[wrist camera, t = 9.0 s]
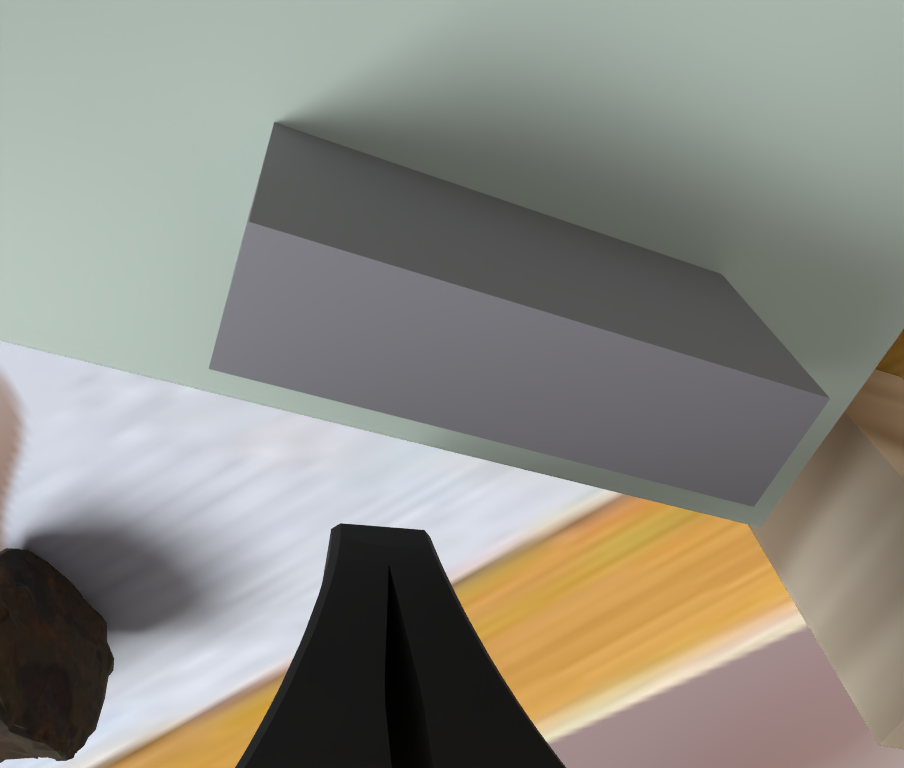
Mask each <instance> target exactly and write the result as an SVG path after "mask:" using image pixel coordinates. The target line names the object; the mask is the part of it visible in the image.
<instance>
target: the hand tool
mask: <svg viewBox="0 0 904 768" xmlns="http://www.w3.org/2000/svg"><path fill="white" fill-rule="evenodd" d="M113 667H114V657H113V655H112V652H111V650H110V648H109V645H108V643H107V627H106V621H105V620H104V619H103V618H102V616H101V615H100V614H99V613H98V612H96V611H95V610H94V609H93V608H92V607H91V606H90V605H89V604H88V603H87V602H86V601H85V600H84V599H83V597H82V595H81V594H80V593H79V591H78V590H77V589H76V588H75V586H74V585H73V584H72V583H71V582H70V581H69V580H68V579H66V578H65V577H64V576H63V575H62V574H60V573H59V572H58V571H57V570H56V569H55V568H53V567H52V566H51V565H50V564H49V563H47V562H45V561H43V560H41V559H40V558H38V557H37V556H35V555H34V554H32V553H31V552H29V551H26V550H21V549H8V548H6V549H4V550H3V551H1V552H0V763H1V762H3V761H4V760H6V759H21V758H36V759H38V757H40V758H43V757H48V758H52V759H56V761H67V760H69V759H72V758H74V755H75V753H77V751H78V750H80V749H81V748H82V747H83V746H84V745H85V743H86V741H87V739H88V737H89V736H90V735H91V734H92V733H93V732H94V731H95V730H96V727H97V723H98V720H99V716H100V713H101V709H102V706H103V703H104V699H105V694H106V688H107V682H108V677H109V675H110V674H111V673H112V671H113Z"/></svg>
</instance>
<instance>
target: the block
mask: <svg viewBox="0 0 904 768" xmlns="http://www.w3.org/2000/svg"><path fill="white" fill-rule="evenodd" d="M748 525H749V524H748ZM749 527H750V529H751V531H752V532H753V534H754V536H755V537H756V539H757V541H758V542H759V544H760V546H761V547H762V549H763V551H764V552H765V554H766V556H767V558H768V559H769V561H770V563H771V564H772V566H773V568H774V569H775V571H776V573H777V574H778V576H779V578H780V579H781V581H782V583H783V585H784V586H785V588H786V590H787V591H788V593H789V595H790V596H791V598H792V600H793V601H794V603H795V605H796V607H797V608H798V610H799V612H800V613H801V615H802V617H803V618H804V620H805V622H806V623H807V625H808V627H809V628H810V630H811V632H812V634H813V635H814V637H815V639H816V640H817V642H818V644H819V645H820V647H821V649H822V650H823V652H824V654H825V655H826V657H827V659H828V660H829V662H830V664H831V666H832V667H833V669H834V671H835V672H836V674H837V676H838V677H839V679H840V681H841V682H842V684H843V686H844V688H845V689H846V691H847V692H848V694H849V696H850V698H851V699H852V701H853V703H854V704H855V706H856V708H857V709H858V711H859V713H860V715H861V716H862V718H863V720H864V721H865V723H866V725H867V726H868V728H869V730H870V731H871V733H872V735H873V736H874V738H875V740H876V741H877V743H878V745H880V746H886V747H891V748H898V749H904V380H903V379H902V378H901V377H899V376H896V375H893V374H890V373H886V372H883V371H880V370H877V369H875V370H874V371H873V372H872V374H871V375H870V376H869V378H868V379H867V381H866V382H865V383H864V385H863V386H862V388H861V389H860V390H859V392H858V393H857V395H856V396H855V397H854V399H853V400H852V401H851V403H850V404H849V406H848V407H847V408H846V410H845V411H844V413H843V414H842V415H841V417H840V418H839V419H838V421H837V422H836V424H835V425H834V426H833V428H832V429H831V431H830V432H829V433H828V435H827V436H826V437H825V439H824V440H823V442H822V443H821V444H820V446H819V447H818V449H817V450H816V451H815V453H814V454H813V455H812V457H811V458H810V460H809V461H808V462H807V464H806V465H805V467H804V468H803V469H802V471H801V472H800V473H799V475H798V476H797V478H796V479H795V480H794V482H793V483H792V485H791V486H790V487H789V489H788V490H787V491H786V493H785V494H784V496H783V497H782V498H781V500H780V501H779V503H778V504H777V505H776V507H775V508H774V509H773V511H772V512H771V514H770V515H769V516H768V518H767V519H766V521H765V522H764V523H763V525H762V526H761V527H757V526H753V525H749Z"/></svg>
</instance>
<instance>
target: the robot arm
mask: <svg viewBox="0 0 904 768" xmlns="http://www.w3.org/2000/svg"><path fill="white" fill-rule="evenodd" d="M235 768H566V767H565V765H563V763H562V762H561V761H560V759H559V758H558V757H557V755H556V754H555V753H554V751H553V750H552V749H551V747H550V746H549V745H548V743H547V742H546V741H545V739H544V738H543V737H542V735H541V734H540V733H539V731H538V730H537V728H536V727H535V726H534V724H533V723H532V721H531V720H530V718H529V717H528V716H527V714H526V713H525V711H524V710H523V708H522V707H521V705H520V704H519V702H518V701H517V699H516V698H515V696H514V695H513V693H512V692H511V690H510V688H509V687H508V685H507V684H506V682H505V681H504V679H503V677H502V676H501V674H500V673H499V671H498V669H497V668H496V666H495V664H494V663H493V661H492V659H491V658H490V656H489V654H488V653H487V651H486V649H485V647H484V646H483V644H482V642H481V640H480V639H479V637H478V635H477V633H476V631H475V630H474V628H473V626H472V624H471V622H470V621H469V619H468V617H467V615H466V613H465V611H464V609H463V607H462V606H461V604H460V602H459V600H458V598H457V596H456V594H455V592H454V590H453V588H452V586H451V583H450V581H449V579H448V577H447V575H446V573H445V571H444V569H443V566H442V564H441V562H440V560H439V557H438V555H437V553H436V550H435V548H434V546H433V543H432V541H431V538H430V536H429V535H428V534H427V533H426V532H425V530H416V529H404V528H391V527H378V526H366V525H353V524H341V523H340V524H339V525H337V526H335V527H334V528H332V529H331V534H330V540H329V546H328V552H327V558H326V564H325V570H324V577H323V582H322V586H321V589H320V592H319V596H318V598H317V601H316V604H315V606H314V609H313V612H312V614H311V617H310V620H309V622H308V625H307V628H306V631H305V633H304V636H303V638H302V640H301V643H300V645H299V647H298V649H297V651H296V654H295V656H294V658H293V660H292V662H291V664H290V667H289V669H288V671H287V673H286V675H285V677H284V680H283V682H282V684H281V686H280V688H279V690H278V692H277V694H276V696H275V698H274V700H273V702H272V704H271V706H270V708H269V709H268V711H267V713H266V715H265V717H264V719H263V721H262V722H261V724H260V726H259V728H258V730H257V731H256V733H255V735H254V737H253V739H252V740H251V742H250V744H249V746H248V747H247V749H246V751H245V752H244V754H243V756H242V757H241V759H240V761H239V762H238V764H237V766H236V767H235Z"/></svg>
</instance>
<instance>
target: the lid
mask: <svg viewBox="0 0 904 768" xmlns="http://www.w3.org/2000/svg"><path fill="white" fill-rule="evenodd" d="M903 329H904V0H0V341H4V342H8V343H12V344H16V345H20V346H24V347H28V348H32V349H36V350H40V351H45V352H49V353H53V354H57V355H61V356H65V357H69V358H73V359H77V360H81V361H85V362H89V363H93V364H97V365H101V366H106V367H110V368H114V369H118V370H122V371H126V372H130V373H134V374H138V375H142V376H146V377H150V378H154V379H158V380H163V381H167V382H171V383H175V384H179V385H183V386H187V387H191V388H195V389H199V390H203V391H207V392H211V393H215V394H220V395H224V396H228V397H232V398H236V399H240V400H244V401H248V402H252V403H256V404H260V405H264V406H268V407H272V408H277V409H281V410H285V411H289V412H293V413H297V414H301V415H305V416H309V417H313V418H317V419H321V420H325V421H329V422H334V423H338V424H342V425H346V426H350V427H354V428H358V429H362V430H366V431H370V432H374V433H378V434H382V435H386V436H390V437H395V438H399V439H403V440H407V441H411V442H415V443H419V444H423V445H427V446H431V447H435V448H439V449H443V450H447V451H452V452H456V453H460V454H464V455H468V456H472V457H476V458H480V459H484V460H488V461H492V462H496V463H500V464H504V465H509V466H513V467H517V468H521V469H525V470H529V471H533V472H537V473H541V474H545V475H549V476H553V477H557V478H561V479H566V480H570V481H574V482H578V483H582V484H586V485H590V486H594V487H598V488H602V489H606V490H610V491H614V492H618V493H622V494H627V495H631V496H635V497H639V498H643V499H647V500H651V501H655V502H659V503H663V504H667V505H671V506H675V507H679V508H684V509H688V510H692V511H696V512H700V513H704V514H708V515H712V516H716V517H720V518H724V519H728V520H732V521H736V522H741V523H745V524H749V525H753V526H757V527H761V526H762V525H763V523H764V522H765V521H766V519H767V518H768V516H769V515H770V514H771V512H772V511H773V509H774V508H775V507H776V505H777V504H778V503H779V501H780V500H781V498H782V497H783V496H784V494H785V493H786V491H787V490H788V489H789V487H790V486H791V485H792V483H793V482H794V480H795V479H796V478H797V476H798V475H799V473H800V472H801V471H802V469H803V468H804V467H805V465H806V464H807V462H808V461H809V460H810V458H811V457H812V455H813V454H814V453H815V451H816V450H817V449H818V447H819V446H820V444H821V443H822V442H823V440H824V439H825V437H826V436H827V435H828V433H829V432H830V431H831V429H832V428H833V426H834V425H835V424H836V422H837V421H838V419H839V418H840V417H841V415H842V414H843V413H844V411H845V410H846V408H847V407H848V406H849V404H850V403H851V401H852V400H853V399H854V397H855V396H856V395H857V393H858V392H859V390H860V389H861V388H862V386H863V385H864V383H865V382H866V381H867V379H868V378H869V376H870V375H871V374H872V372H873V371H874V370H875V368H876V367H877V365H878V364H879V363H880V361H881V360H882V358H883V357H884V356H885V354H886V353H887V352H888V350H889V349H890V347H891V346H892V345H893V343H894V342H895V340H896V339H897V338H898V336H899V335H900V334H901V332H902V331H903Z"/></svg>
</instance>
